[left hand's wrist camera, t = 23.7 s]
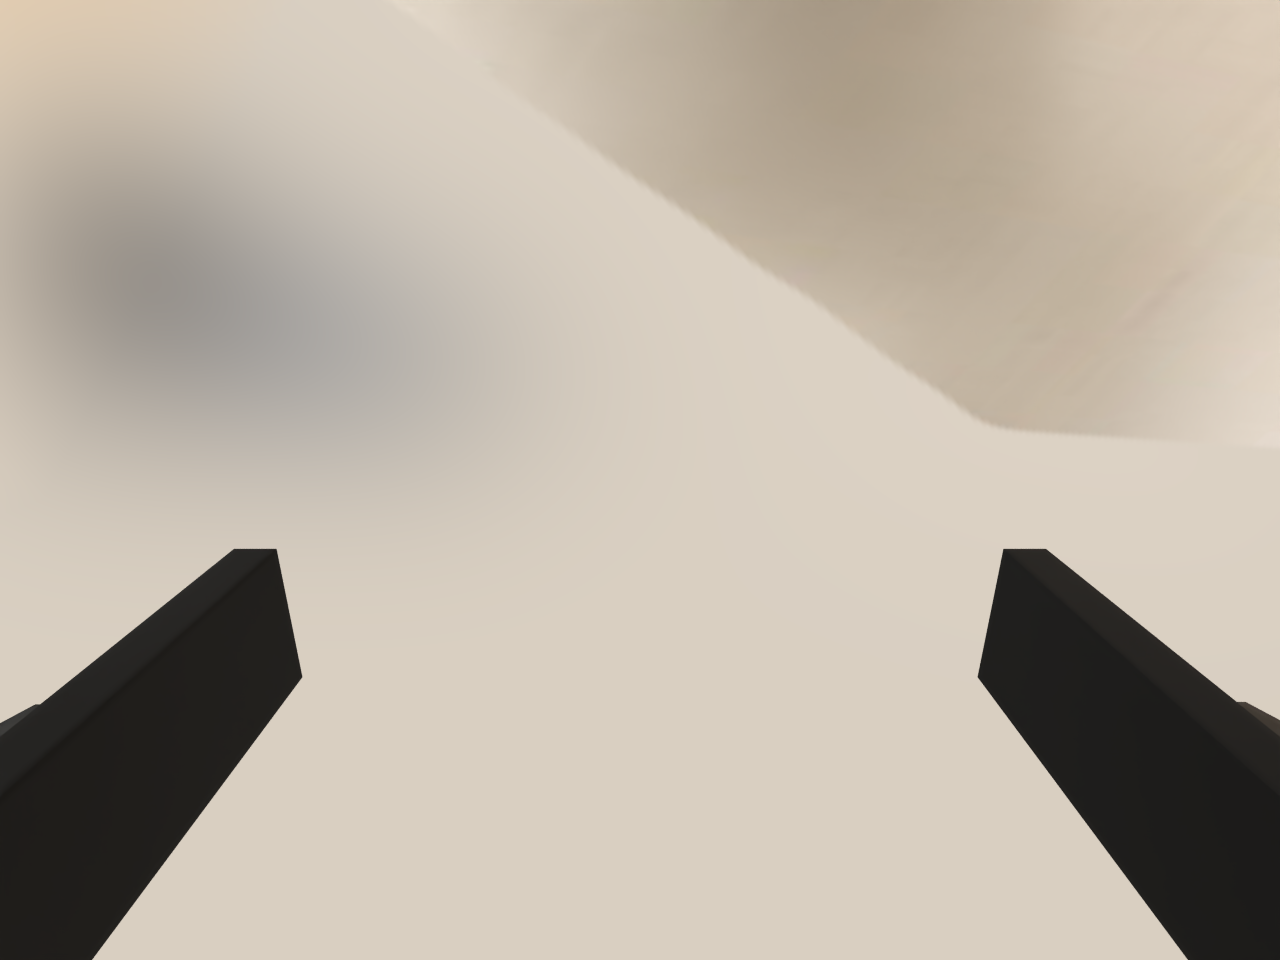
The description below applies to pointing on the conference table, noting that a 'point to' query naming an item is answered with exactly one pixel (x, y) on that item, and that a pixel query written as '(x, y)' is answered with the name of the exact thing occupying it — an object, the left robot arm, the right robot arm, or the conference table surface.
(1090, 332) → the conference table surface
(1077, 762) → the left robot arm
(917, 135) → the conference table surface
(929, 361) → the conference table surface
